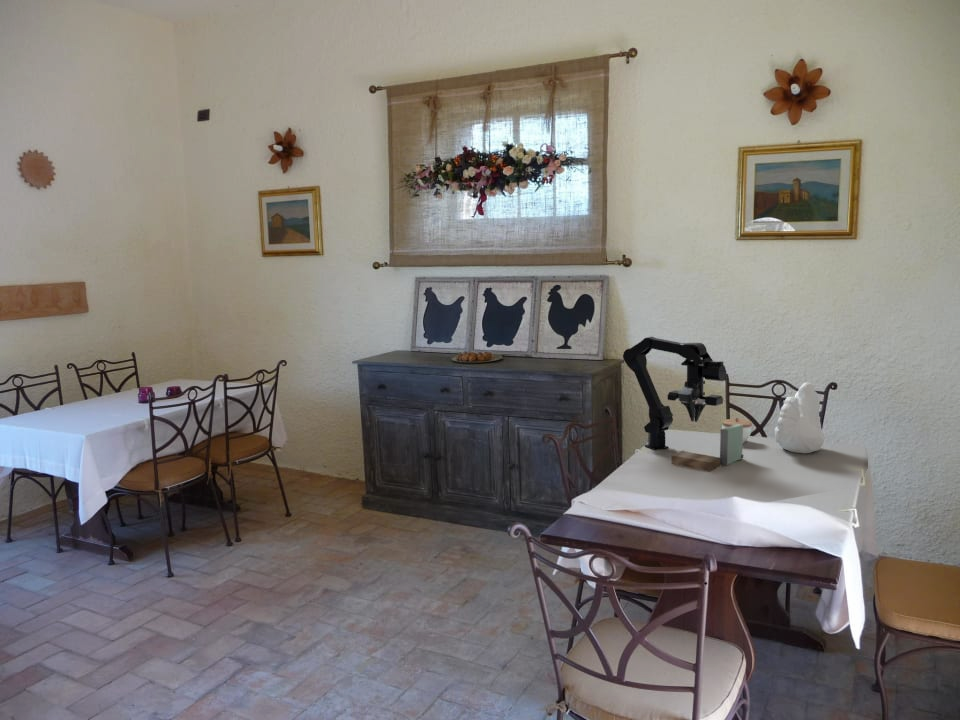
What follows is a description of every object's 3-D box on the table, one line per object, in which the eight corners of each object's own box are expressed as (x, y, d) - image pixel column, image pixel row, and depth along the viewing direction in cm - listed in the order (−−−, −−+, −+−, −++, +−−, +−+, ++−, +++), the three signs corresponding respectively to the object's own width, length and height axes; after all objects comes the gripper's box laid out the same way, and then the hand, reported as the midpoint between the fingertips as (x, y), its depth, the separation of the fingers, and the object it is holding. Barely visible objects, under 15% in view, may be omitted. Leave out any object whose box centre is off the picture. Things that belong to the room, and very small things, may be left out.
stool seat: (671, 463, 245) (671, 455, 244) (682, 459, 250) (682, 450, 250) (709, 471, 235) (710, 462, 235) (720, 466, 240) (720, 457, 240)
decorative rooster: (795, 442, 269) (798, 377, 266) (834, 451, 256) (837, 383, 253) (751, 452, 257) (753, 384, 254) (789, 462, 244) (792, 390, 240)
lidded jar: (715, 439, 276) (716, 416, 274) (739, 437, 279) (739, 413, 278) (733, 446, 265) (733, 421, 264) (757, 443, 269) (758, 419, 267)
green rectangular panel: (725, 465, 239) (726, 431, 238) (718, 464, 241) (719, 430, 239) (743, 457, 248) (744, 424, 247) (736, 456, 250) (737, 423, 249)
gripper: (659, 379, 253) (659, 421, 255) (709, 384, 240) (708, 429, 242) (675, 375, 261) (674, 416, 263) (724, 379, 248) (723, 423, 250)
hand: (694, 421), depth 254 cm, fingers closed
